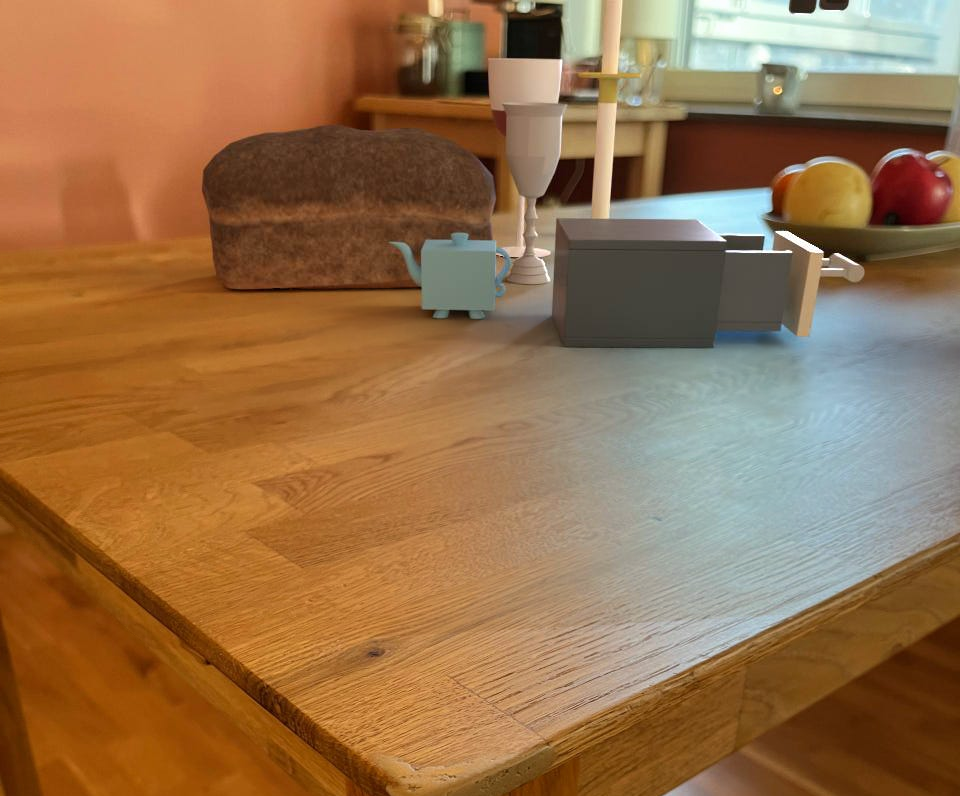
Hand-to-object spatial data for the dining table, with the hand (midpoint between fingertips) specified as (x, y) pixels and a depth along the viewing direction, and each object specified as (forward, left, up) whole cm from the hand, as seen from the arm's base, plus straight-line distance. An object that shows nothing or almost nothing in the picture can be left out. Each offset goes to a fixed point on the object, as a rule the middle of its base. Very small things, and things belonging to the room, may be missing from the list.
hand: (816, 12), depth 86 cm
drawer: (+2, +2, -25) cm, 25 cm away
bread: (+42, -22, -26) cm, 54 cm away
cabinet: (+14, +2, -26) cm, 30 cm away
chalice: (+22, -22, -26) cm, 41 cm away
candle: (+10, -53, -26) cm, 60 cm away
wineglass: (+22, -40, -26) cm, 53 cm away
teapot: (+31, -5, -26) cm, 41 cm away
